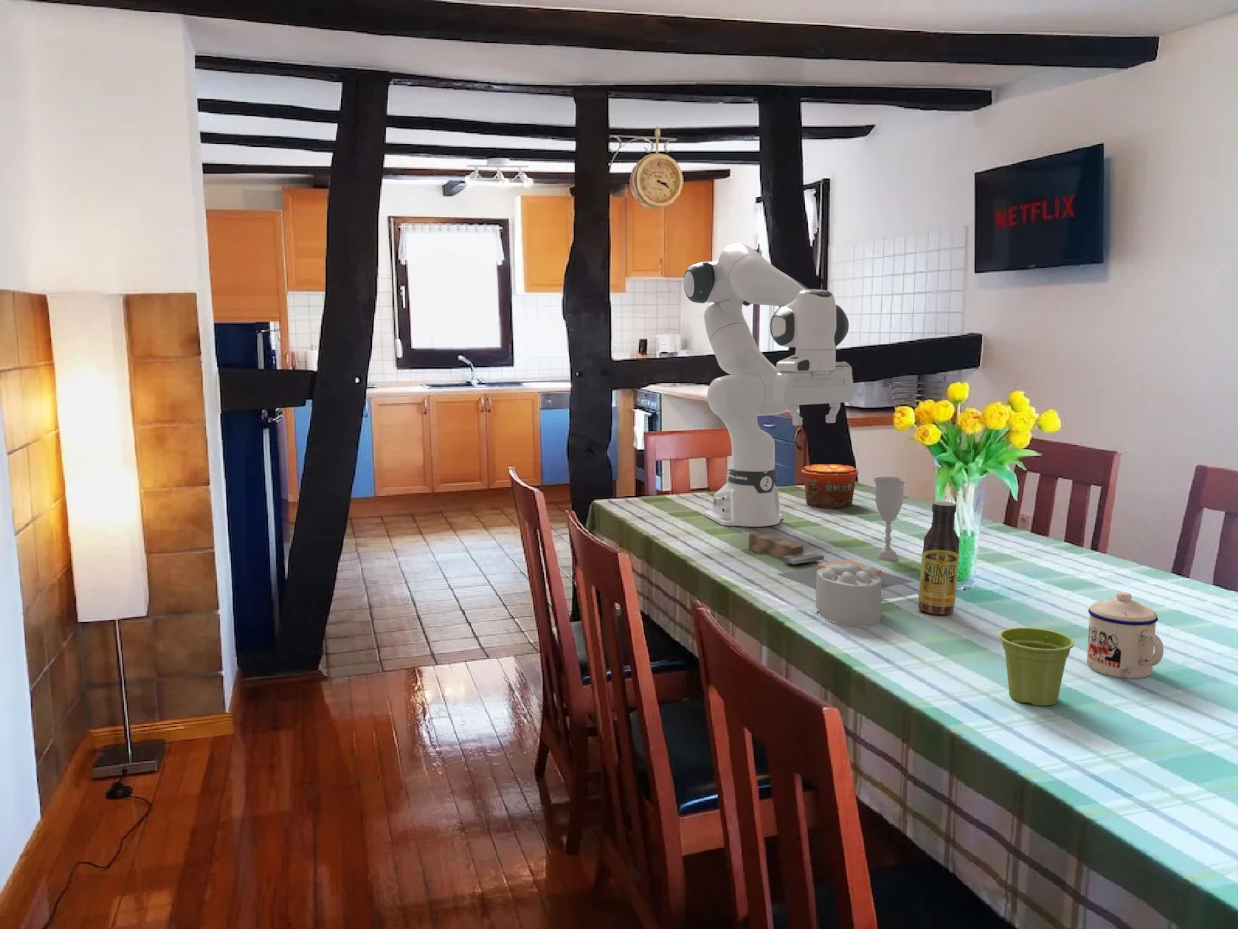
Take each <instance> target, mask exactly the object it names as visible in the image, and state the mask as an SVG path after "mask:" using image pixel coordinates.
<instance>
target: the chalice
mask: <svg viewBox="0 0 1238 929" xmlns="http://www.w3.org/2000/svg"><path fill="white" fill-rule="evenodd" d="M873 481H874V483H875V499H874V501H875V504H876V508H877V511H878V513H879V515H880V518H881V520H882V521H884V522H885V525H886V527H885V529H884V532H885V534H886V535H885V537H883V539H884V541H885V545H884V548H882V549H880V550H879V551H878V554H877V557H876V558H877V559H878V560H881V561H882V560H883V561H896V560H899V558H898V557H899V556H898V555H897V552H896V550H895V549H892V547H891V541H892V540H893V538H892V537H891V533H892V531H893V530H892V527H891V526H892V525H891V524H892V522H894V521H896V519H897V517H898V515H899V513H900V512H901V509H902V505H903V504H904V487H905V486H904V485H905V483H906V482H907V479H906V478H903V477H896V476H877V477H874V478H873Z"/></svg>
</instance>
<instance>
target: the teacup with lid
mask: <svg viewBox="0 0 1238 929" xmlns="http://www.w3.org/2000/svg"><path fill="white" fill-rule="evenodd" d="M1132 598H1133V597H1132V594H1131V593H1129V592H1127V591H1119V592H1117V593H1116V596H1115V597H1111V598H1108V599H1106V600H1101V601H1096V602H1093V603H1092V604H1091V605H1090V606H1089V608H1088V611H1087V612H1088V614H1089V618H1088V619H1089V621H1088V636H1087V651H1086V653H1087V654H1086V664H1087V666H1088V667H1089V668H1090V669H1091V670H1093V671H1095V672H1097V673H1099V674H1103V675H1105V676H1108V677H1114V678H1121V679H1129V680H1130V679H1135V680H1136V679H1144V678H1147V677H1149V676H1150V675H1152V673H1153V666H1156V665H1158V664H1159V663H1160V662H1161V660H1162V659H1163V656H1164V652H1165V650H1164V647H1165V646H1164V643H1163V641H1162V639H1161V638H1160V637H1159V636H1158V635H1157V634H1156V626H1157V624H1156V623H1157V622H1158V621H1159V618H1158V614H1157V612H1156V611H1155V610H1153V609H1152V608H1150V607H1148V606H1145V605H1143V604H1141V603H1140V602H1138V601H1137V600H1134V599H1132Z"/></svg>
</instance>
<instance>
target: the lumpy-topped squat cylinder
mask: <svg viewBox="0 0 1238 929" xmlns="http://www.w3.org/2000/svg"><path fill="white" fill-rule="evenodd" d="M875 568H876V567H872V566H870V567H866V568H861V567H859V566H858V565H857V564H854V563H847V564H831V565H828V566H827V567H826V568H821V569H819V570H818V571H817V576H816V589H815V608H816V609H817V613H820V615H821V617H822V618H823V617H824V618H825V619H824V618H823V619H824V620H826V619H828V620H831V621H834V622H837V623H836V624H838V623H839V624H838V625H841V624H843V626H847V625H848V626H847V627H854V626H866V627H871V626H874V625H876V624H878V623H879V622H880V621H881V617H882V588H883V587H882V580H881V578H880V577H879V576H878V574H877V571H876V569H877V568H876V569H875ZM820 615H819V616H820ZM828 620H827V621H828ZM879 620H880V621H879ZM831 621H830V622H831ZM834 622H833V623H834Z"/></svg>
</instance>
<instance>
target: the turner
mask: <svg viewBox="0 0 1238 929" xmlns="http://www.w3.org/2000/svg"><path fill="white" fill-rule="evenodd" d="M748 550H749V551H752V552H754V553H757V554H759V553H760V554H767V555H770V556H773V557H775V558H778V559H782V561H784V562H787V563H788V564H792V565H798V564H803V563H810V562H816V561H823V560H824V559H825V555H822V554H820V553H816V552H813V551H807V552H804V546H803V545H800V544H797V543H794V542H791V541H788V540H786V539H782V538H779V537H776V536H773V535H769V534H767V533H763V532H760V531H759V532H752V533H751V532H750V533H748ZM760 554H759V555H760Z"/></svg>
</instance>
